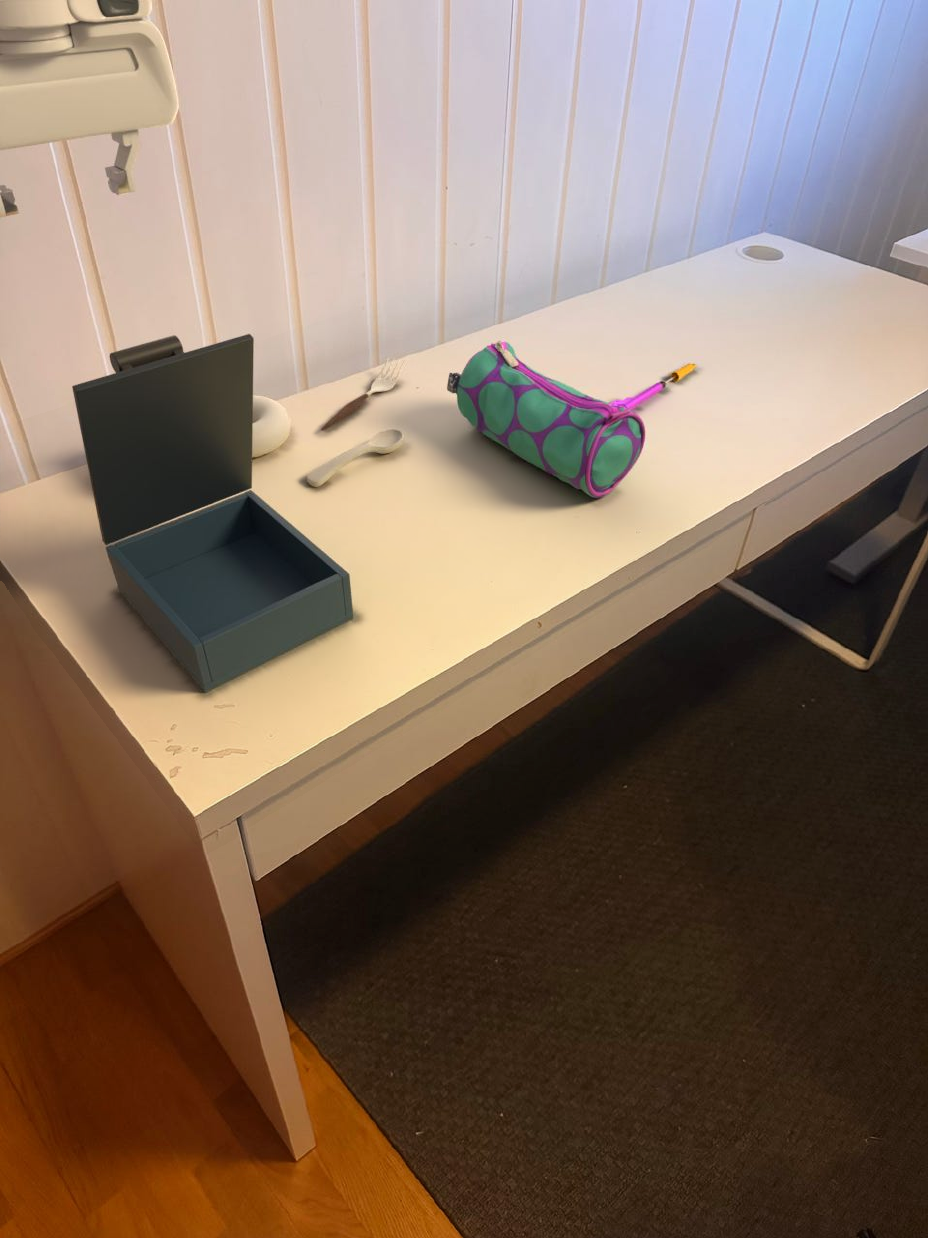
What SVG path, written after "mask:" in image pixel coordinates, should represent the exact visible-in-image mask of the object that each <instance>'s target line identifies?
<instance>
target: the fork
mask: <svg viewBox="0 0 928 1238" xmlns="http://www.w3.org/2000/svg"><path fill="white" fill-rule="evenodd" d="M389 360H390V357H389V356H388V358H387V360H386V361H385V363H384V365H383V367H382V369H381V370H380V372H379V373H378V376H377V377H376V378H375V380H374V381H373V382H372V384H371V386H370V390H369V391H367V392H365V393H364V394H362V395H360V396H358V397H357V398H355V399H353V400H352V401H350V402H348V403H347V404H345V405H344V406H343V407H342V408H341V409H340V410H339V411H338V412H337V413H336V414H335V415H333V417H332V418H331V419H330V420H328V422H326V424H324V425H323V426H322V428H321V429H320V431H326V430H328V429H329V428H331V427H332V426H335V424H337V423H338V422H339V421H341V420H342V419H344V418H346V417H348V416H349V415H351V414H352V413H354V412H355V411H356V410H357V409H359V407H361V405H362V404H363V403H364V402H365V401H366V400H367V399H368V398H369V397H370V396H371V395H372V394H374V393H379V392H388V391H390V390H392V389H393V388H394V387H395V385H396V383H397V381H398V379H399V377H400V375H401V372H402V370H403V368H404V365H405V363H406V361H405V360H404V361H403V363H402V364H401V367H400V368H399V370H398V372H397V373H396V370H397V368H398V366H399V363H400V360H397V362H396V364H395V366H394V369H393V370H392V372H391V374H390V375H389V373H390V371H391V369H392V367H393V365H394V362H395V358H393V359H392V361H391V363H390V365H389V367H388V368H387V370H386V371H385V369H386V367H387V364H388V362H389ZM384 372H385V373H384ZM395 373H396V375H395ZM388 375H389V377H388ZM394 375H395V377H394ZM393 377H394V379H393Z"/></svg>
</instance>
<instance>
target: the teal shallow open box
mask: <svg viewBox="0 0 928 1238" xmlns="http://www.w3.org/2000/svg"><path fill="white" fill-rule="evenodd" d="M105 551H106V553H107V557H108V560H109V563H110V567H111V569H112V572H113V576H114V580H115V582H116V585H117V589H118V591H119V593H120V594H121V595H122V596H123V598H124V599H125V600H126V601H127V602H128V604H129V605H130V606H131V608H133V609H134V611H135V612H136V613H137V614H138V615H139V616H140V618H141V619H142V620H143V621H144V622H145V624H147V626H148V627H149V628H150V629H151V631H152V632H153V633H154V634H155V636H157V638H158V639H159V640H160V642H162V643H163V645H164V646H165V647H166V648H167V649H168V651H169V652H170V653H171V654H172V655H173V656H174V658H175V659H176V660H177V662H178V663H180V665H182V668H183V669H185V671H186V672H187V673H188V675H190V677H191V678H192V679H193V680H194V681H195V682H196V684H197V685H198V686H199V687H200V689H201V690H202V691H203V692H204V693H208V692H210V691H212V690H214V689H217V688H218V687H221V686H222V685H224V684H226V683H228V682H230V681H232V680H234V679H236V678H238V677H240V676H243V675H244V674H246V673H248V672H250V671H251V670H254V669H256V668H258V667H260V666H262V665H264V664H266V663H268V662H270V661H273V660H274V659H277V658H279V657H280V656H282V655H284V654H286V653H288V652H290V651H292V650H294V649H296V648H298V647H300V646H302V645H304V644H306V643H308V642H310V641H312V640H314V639H316V638H319V637H320V636H322V635H324V634H326V633H328V632H329V631H331V630H333V629H335V628H338V627H339V626H342V625H344V624H346V623H348V622H350V621H352V620H353V619H354V609H353V607H354V606H353V597H352V586H351V575H350V573H349V571H346V570H345V569H344V568H343V567H342V566H341V565H340V564H338V563H337V562H336V561H335V560H334V559H333V558H331V556H329V555H328V554H327V553H325V552H324V551H323V550H322V549H321V548H320V547H319V546H317V545H316V544H315V543H314V542H313V541H311V539H309V538H308V537H307V536H306V535H304V534H303V533H302V532H301V531H300V530H299V529H297V528H296V527H295V526H294V525H293V524H292V523H291V522H289V521H288V520H287V519H286V518H285V517H284V516H283V515H281V514H280V513H278V511H277V510H275V509H274V508H273V507H272V506H271V505H270V504H269V503H267V502H266V500H264V499H262V498H261V497H260V496H259V495H258V494H256V493H255V492H254V491H253V490H252V489H249V490H246V491H243V492H241V493H239V494H236V495H234V496H231V497H228V498H226V499H223V500H221V501H218V502H216V503H213V504H211V505H208V506H205V507H203V508H200V509H198V510H195V511H193V512H190V513H188V514H185V515H182V516H180V517H177V518H175V519H172V520H170V521H167V522H165V523H162V524H159V525H157V526H154V527H152V528H149V529H147V530H144V531H142V532H139V533H136V534H134V535H131V536H129V537H126V538H124V539H121V540H119V541H116V542H114V543H111V544H108V545H106V546H105Z"/></svg>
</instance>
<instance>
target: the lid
mask: <svg viewBox="0 0 928 1238" xmlns="http://www.w3.org/2000/svg"><path fill="white" fill-rule="evenodd" d="M254 341H255V340H254V336H252V335H251V333H247V334H244V335H239V336H237V337H233V338H230V339H227V340H224V341H223V340H222V341H220V342H219V341H218V342H215V343H213V344H209V345H206V346H203V347H200V348H197V349H193V350H189V351H186V352H185V351H184V347H183V344H182V342H181V340H180V338H179V337H178V336H177V335H175V334H174V335H173V334H172V335H170V336H169V335H168V336H166V337H162V338H159V339H155V340H152V341H148V342H144V343H141V344H138V345H134V346H131V347H127V348H124V349H123V348H122V349H120V350H116V351H113V352H110V353H109V362H110V365H111V367H112V369H113V371H114V373H112V374H108V375H104V376H101V377H98V378H95V379H90V380H87V381H84V382H80V383H77V384H73V385H72V393H73V397H74V403H75V408H76V414H77V419H78V423H79V428H80V433H81V438H82V443H83V444H82V445H83V449H84V453H85V454H84V455H85V458H86V459H85V460H86V464H87V470H88V474H89V480H90V484H91V489H92V495H93V500H94V505H95V511H96V514H97V515H96V516H97V520H98V525H99V530H100V536H101V541H102V542H103V544H104V545H105V546H109V545H111V544H114V543H117V542H119V541H122V540H124V539H127V538H129V537H132V536H134V535H137V534H140V533H142V532H145V531H147V530H150V529H152V528H155V527H157V526H160V525H163V524H165V523H168V522H170V521H173V520H175V519H178V518H181V517H183V516H186V515H188V514H191V513H193V512H196V511H198V510H201V509H204V508H206V507H209V506H211V505H214V504H216V503H219V502H221V501H224V500H227V499H229V498H232V497H234V496H237V495H239V494H242V493H244V492H247V491H249V490H252V489H253V458H252V434H253V395H254V351H255V350H254V347H255V346H254V344H255V343H254Z"/></svg>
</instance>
